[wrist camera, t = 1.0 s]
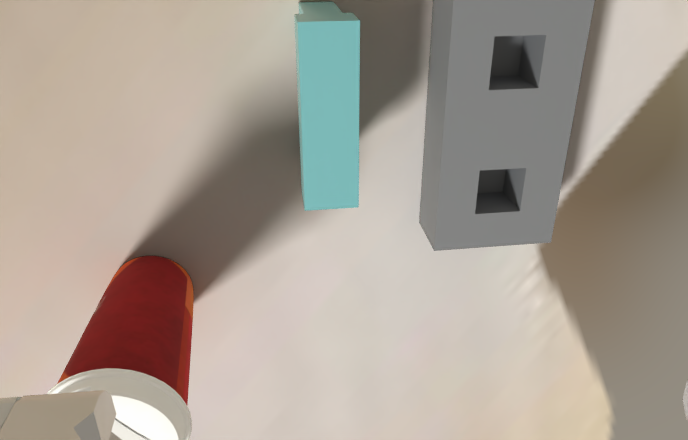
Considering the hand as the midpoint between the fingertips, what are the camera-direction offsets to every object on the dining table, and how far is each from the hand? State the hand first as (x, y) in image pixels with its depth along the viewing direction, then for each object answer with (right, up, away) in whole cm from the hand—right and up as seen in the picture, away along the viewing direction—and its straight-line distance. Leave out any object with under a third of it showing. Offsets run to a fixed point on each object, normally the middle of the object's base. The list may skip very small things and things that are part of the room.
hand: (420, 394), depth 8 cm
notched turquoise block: (-3, +11, +28) cm, 31 cm away
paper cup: (-14, -2, +34) cm, 37 cm away
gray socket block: (+8, +10, +31) cm, 33 cm away
